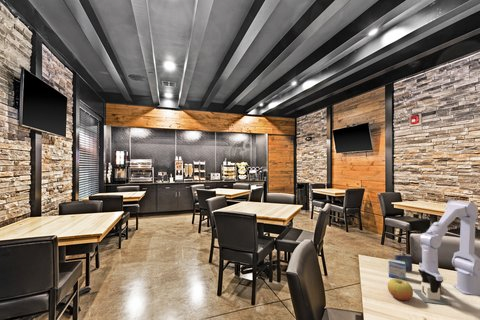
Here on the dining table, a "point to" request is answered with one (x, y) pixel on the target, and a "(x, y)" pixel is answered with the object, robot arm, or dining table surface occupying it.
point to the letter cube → (429, 291)
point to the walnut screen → (440, 289)
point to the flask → (404, 260)
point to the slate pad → (434, 301)
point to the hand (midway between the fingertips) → (430, 289)
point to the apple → (400, 289)
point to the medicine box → (397, 269)
